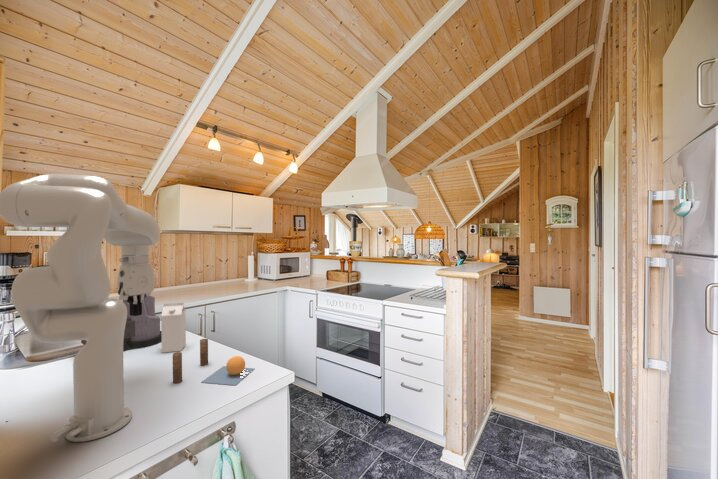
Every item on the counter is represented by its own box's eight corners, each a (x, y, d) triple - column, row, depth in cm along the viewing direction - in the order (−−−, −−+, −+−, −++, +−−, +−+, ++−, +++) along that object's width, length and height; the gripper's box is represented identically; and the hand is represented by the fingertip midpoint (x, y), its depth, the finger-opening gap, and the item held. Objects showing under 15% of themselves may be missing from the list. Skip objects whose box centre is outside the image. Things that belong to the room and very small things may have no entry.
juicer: (158, 333, 147) (157, 282, 147) (173, 340, 138) (172, 285, 137) (74, 353, 123) (72, 292, 123) (85, 363, 114) (84, 297, 113)
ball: (231, 358, 101) (219, 368, 102) (243, 371, 101) (230, 382, 102) (240, 349, 107) (228, 359, 108) (251, 362, 107) (240, 372, 108)
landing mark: (235, 385, 97) (235, 385, 97) (201, 382, 99) (201, 382, 99) (254, 369, 109) (254, 368, 109) (223, 366, 111) (223, 366, 111)
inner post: (178, 383, 98) (177, 355, 98) (170, 383, 99) (170, 355, 98) (184, 379, 101) (183, 352, 101) (176, 379, 101) (176, 352, 101)
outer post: (205, 366, 111) (204, 341, 111) (198, 365, 112) (198, 340, 111) (209, 363, 114) (209, 338, 114) (203, 362, 114) (203, 338, 114)
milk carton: (166, 346, 130) (166, 301, 129) (185, 345, 132) (185, 300, 132) (161, 353, 123) (160, 305, 123) (181, 351, 125) (181, 304, 125)
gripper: (123, 261, 96) (124, 321, 96) (163, 259, 111) (163, 310, 110) (104, 262, 98) (104, 320, 97) (145, 259, 112) (145, 310, 112)
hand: (135, 315), depth 104 cm, fingers closed
